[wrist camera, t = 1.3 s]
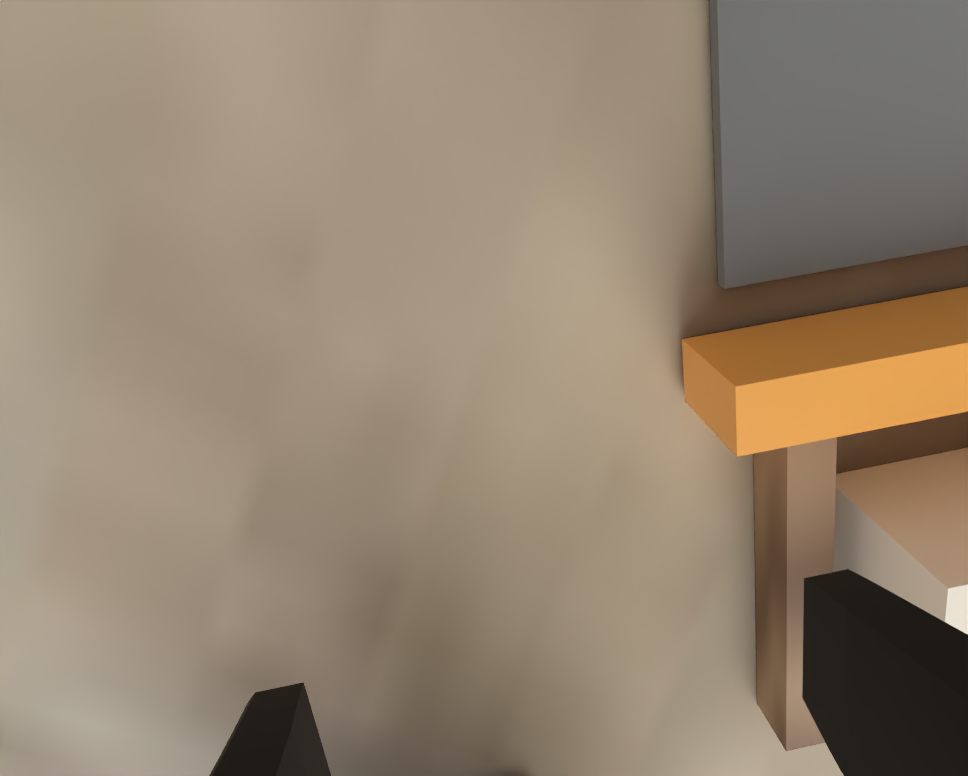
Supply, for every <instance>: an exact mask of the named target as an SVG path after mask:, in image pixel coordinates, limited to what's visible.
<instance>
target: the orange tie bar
mask: <svg viewBox="0 0 968 776" xmlns="http://www.w3.org/2000/svg"><path fill="white" fill-rule="evenodd" d="M682 354H683V373H684V393H685V402H686V403H687V404H688V405H689V406H690V407H691V408H692V409H693V410H694V411H695V412H696V413H697V415H698V416H699V417H700V418H701V419H702V420H703V421H704V422H705V423H706V424H707V425H708V426H709V427H710V428H711V429H712V431H713V432H714V433H715V434H716V435H717V436H718V437H719V438H720V439H721V440H722V441H723V442H724V443H725V444H726V446H727V447H728V448H729V449H730V450H731V451H732V452H733V453H734V454H735V455H736V456H737V457H739V456H744V455H749V454H754V453H759V452H764V451H769V450H774V449H779V448H784V447H789V446H795V445H800V444H805V443H810V442H815V441H820V440H825V439H830V438H835V437H840V436H846V435H851V434H856V433H861V432H866V431H871V430H876V429H881V428H886V427H891V426H896V425H902V424H907V423H912V422H917V421H922V420H927V419H932V418H937V417H942V416H947V415H953V414H958V413H963V412H968V286H967V287H962V288H957V289H951V290H946V291H940V292H935V293H930V294H924V295H919V296H913V297H908V298H902V299H897V300H892V301H886V302H881V303H875V304H870V305H865V306H859V307H854V308H848V309H843V310H838V311H832V312H827V313H821V314H816V315H810V316H805V317H800V318H794V319H789V320H783V321H778V322H773V323H767V324H762V325H756V326H751V327H745V328H740V329H735V330H729V331H724V332H718V333H713V334H708V335H702V336H697V337H691V338H686V339H682Z"/></svg>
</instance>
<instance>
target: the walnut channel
mask: <svg viewBox="0 0 968 776" xmlns="http://www.w3.org/2000/svg"><path fill="white" fill-rule="evenodd" d="M836 459H837V437H835V438H830V439H825V440H820V441H815V442H810V443H805V444H800V445H795V446H789V447H784V448H779V449H774V450H769V451H764V452H759V453H754V519H755V588H756V658H757V704H758V706H759V707H760V709H761V710H762V712H763V714H764V715H765V717H766V719H767V720H768V722H769V724H770V725H771V727H772V729H773V730H774V732H775V733H776V735H777V737H778V738H779V740H780V742H781V743H782V745H783V747H784V748H785V750H786V751H789V750H793V749H798V748H802V747H807V746H811V745H815V744H820V743H824V742H825V741H824V739H823V737H822V735H821V733H820V731H819V729H818V727H817V725H816V723H815V721H814V720H813V718H812V716H811V714H810V712H809V710H808V708H807V706H806V704H805V702H804V700H803V698H802V686H803V614H804V578H808V577H812V576H817V575H822V574H827V573H832V572H833V557H834V524H835V491H836Z"/></svg>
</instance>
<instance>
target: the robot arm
mask: <svg viewBox="0 0 968 776" xmlns="http://www.w3.org/2000/svg"><path fill="white" fill-rule="evenodd" d="M802 698H803V700H804V702H805V704H806V706H807V708H808V710H809V712H810V714H811V716H812V718H813V720H814V721H815V723H816V725H817V727H818V729H819V731H820V733H821V735H822V737H823V739H824V741H825V743H826V744H827V746H828V748H829V750H830V752H831V753H832V755H833V757H834V759H835V761H836V763H837V764H838V766H839V768H840V770H841V772H842V773H843V775H844V776H968V635H967V634H966V633H964V632H962V631H960V630H958V629H957V628H955V627H953V626H951V625H949V624H948V623H946V622H944V621H942V620H940V619H939V618H937V617H935V616H933V615H931V614H930V613H928V612H926V611H924V610H923V609H921V608H919V607H917V606H915V605H914V604H912V603H910V602H908V601H906V600H905V599H903V598H901V597H899V596H898V595H896V594H894V593H892V592H890V591H889V590H887V589H885V588H883V587H881V586H880V585H878V584H876V583H874V582H872V581H870V580H868V579H867V578H865V577H863V576H861V575H859V574H857V573H855V572H853V571H851V570H849V569H846V570H841V571H836V572H832V573H827V574H822V575H817V576H812V577H808V578H804V614H803V686H802ZM210 776H331V774H330V770H329V767H328V764H327V760H326V757H325V754H324V750H323V747H322V743H321V740H320V737H319V733H318V730H317V726H316V723H315V720H314V716H313V713H312V710H311V706H310V703H309V699H308V696H307V693H306V689H305V686H304V683H299V684H294V685H290V686H285V687H280V688H275V689H270V690H266V691H261V692H256V693H255V694H254V695H253V696H252V698H251V699H250V700H249V702H248V704H247V705H246V707H245V709H244V711H243V713H242V715H241V717H240V719H239V721H238V723H237V725H236V727H235V729H234V731H233V733H232V734H231V736H230V738H229V740H228V742H227V744H226V746H225V748H224V750H223V752H222V753H221V755H220V757H219V759H218V761H217V763H216V765H215V766H214V768H213V770H212V772H211V774H210Z"/></svg>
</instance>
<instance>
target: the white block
mask: <svg viewBox="0 0 968 776" xmlns="http://www.w3.org/2000/svg"><path fill="white" fill-rule="evenodd" d="M846 569H849V570H851V571H853V572H855V573H857V574H859V575H861V576H863V577H865V578H867V579H868V580H870V581H872V582H874V583H876V584H878V585H880V586H881V587H883V588H885V589H887V590H889V591H890V592H892V593H894V594H896V595H898V596H899V597H901V598H903V599H905V600H906V601H908V602H910V603H912V604H914V605H915V606H917V607H919V608H921V609H923V610H924V611H926V612H928V613H930V614H931V615H933V616H935V617H937V618H939V619H940V620H942V621H944V622H946V623H948V624H949V625H951V626H953V627H955V628H957V629H958V630H960V631H962V632H964V633H966V634H967V635H968V448H964V449H959V450H954V451H949V452H944V453H939V454H934V455H929V456H924V457H919V458H914V459H909V460H904V461H899V462H894V463H889V464H884V465H879V466H874V467H869V468H864V469H859V470H854V471H849V472H844V473H839V474H836V491H835V524H834V557H833V572H836V571H841V570H846Z"/></svg>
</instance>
